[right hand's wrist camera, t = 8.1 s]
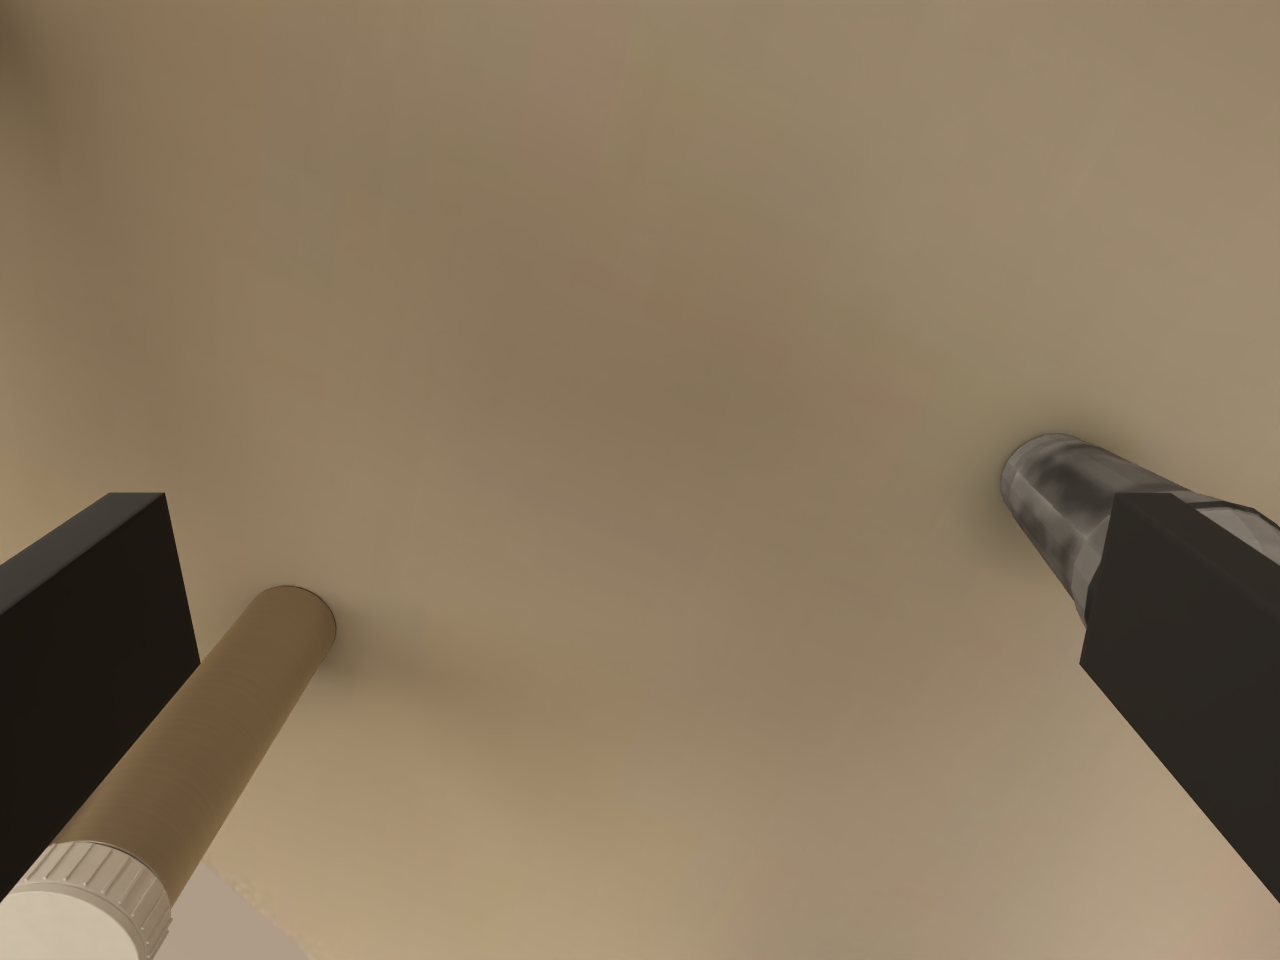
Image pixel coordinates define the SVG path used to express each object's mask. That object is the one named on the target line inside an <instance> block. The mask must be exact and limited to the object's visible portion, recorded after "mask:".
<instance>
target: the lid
mask: <svg viewBox="0 0 1280 960" xmlns="http://www.w3.org/2000/svg"><path fill="white" fill-rule="evenodd" d="M171 908H172V905H170V901H169V898H168V895H167V891H165V889H164V887H163V885H162V884H161V882H160V881H159V879H158V878H157V877H156V876H155V875H154V874H153V873H152V872H151V871H150V870H149V869H148V868H147V867H146V866H145V865H143V864H142V863H141V862H139V861H138V860H136V859H135V858H133V857H131V856H129V855H128V854H126V853H123V852H121V851H119V850H117V849H114V848H111V847H108V846H104V845H100V844H95V843H88V842H66V843H60V844H56V843H55V844H52V846H49V847H47V848H46V849H45V851H44V852H43V853H42V854H41V855H40V856H39V858H38V859H37V860H36V861H35V862H34V864H33V865H32V866H31V867H30V868H29V870H28V871H27V872H26V873H25V874H24V876H23V877H22V878H21V879H20V880H19V882H18V883H17V884H16V885H15V886H14V888H13V889H12V890H11V891H10V892H9V894H8V895H7V896H6V897H5V898H4V899H3V901H2V902H1V903H0V960H153V958H154V956H155V954H156V953H157V951H158V949H159V948H160V946H161V944H162V943H163V941H164V939H165V938H166V936H167V934H168V933H169V931H168V930H167V929H168V927H169V925H170V923H171V922H172V918H170V917H171Z"/></svg>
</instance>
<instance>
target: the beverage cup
mask: <svg viewBox="0 0 1280 960" xmlns="http://www.w3.org/2000/svg"><path fill="white" fill-rule="evenodd" d="M1001 492H1002V496H1003V499H1004V502H1005V503H1006V505H1007V506H1008V507H1009V509H1010V510H1011V512H1012V514H1013V517H1014V519H1015V520H1016V521H1017V523H1018V524H1019V525H1020V527H1021V528H1022V530H1023V531H1024V532H1025V534H1026V535H1027V536H1028V538H1029V539H1030V541H1031V542H1032V543H1033V545H1034V546H1035V548H1036V549H1037V550H1038V552H1039V553H1040V554H1041V556H1042V557H1043V559H1044V560H1045V561H1046V563H1047V564H1048V566H1049V567H1050V568H1051V570H1052V571H1053V572H1054V574H1055V575H1056V577H1057V578H1058V579H1059V581H1060V582H1061V583H1062V585H1063V586H1064V588H1065V589H1066V590H1067V592H1068V593H1069V595H1070V596H1071V597H1072V599H1073V600H1074V601H1075V605H1076V609H1077V611H1078V614H1079V616H1080V618H1081V620H1082V622H1083V624H1084V626H1085V628H1086V629H1087V625H1088V620H1089V615H1090V610H1091V605H1092V601H1093V596H1094V591H1095V586H1096V582H1097V577H1098V572H1099V567H1100V563H1101V558H1102V553H1103V548H1104V544H1105V539H1106V534H1107V529H1108V525H1109V520H1110V515H1111V510H1112V505H1113V501H1114V496H1115V493H1172V494H1173V495H1175V496H1176V497H1178V498H1179V499H1181V500H1182V501H1184V502H1185V503H1187V504H1188V505H1190V506H1191V507H1193V508H1194V509H1196V510H1197V511H1199V512H1200V513H1202V514H1203V515H1205V516H1206V517H1208V518H1209V519H1211V520H1212V521H1214V522H1215V523H1217V524H1218V525H1220V526H1221V527H1223V528H1224V529H1226V530H1227V531H1229V532H1230V533H1232V534H1233V535H1235V536H1236V537H1238V538H1239V539H1241V540H1242V541H1244V542H1245V543H1247V544H1248V545H1250V546H1251V547H1253V548H1254V549H1256V550H1257V551H1259V552H1260V553H1262V554H1263V555H1265V556H1266V557H1268V558H1269V559H1271V560H1272V561H1274V562H1275V563H1277V564H1278V565H1280V527H1279V526H1278V525H1277V524H1276V523H1274V522H1273V521H1271V520H1270V519H1268V518H1267V517H1265V516H1264V515H1263V514H1261V513H1260V512H1258V511H1257V510H1255V509H1254V508H1251V507H1246V506H1242V505H1238V504H1234V503H1230V502H1227V501H1224V500H1220V499H1217V498H1214V497H1210V496H1206V495H1202V494H1198V493H1195V492H1193V491H1191V490H1189V489H1186V488H1184V487H1182V486H1180V485H1178V484H1176V483H1174V482H1172V481H1170V480H1168V479H1165V478H1163V477H1161V476H1159V475H1157V474H1155V473H1153V472H1151V471H1149V470H1147V469H1144V468H1142V467H1140V466H1138V465H1136V464H1134V463H1132V462H1130V461H1128V460H1126V459H1123V458H1121V457H1119V456H1117V455H1115V454H1113V453H1111V452H1109V451H1107V450H1105V449H1102V448H1100V447H1098V446H1096V445H1094V444H1090V443H1086V442H1084V441H1080V440H1078V439H1077V438H1076V437H1072V436H1068V435H1064V434H1049V435H1043V436H1041V437H1038V438H1035V439H1032V440H1030V441H1029V442H1027V443H1026V444H1024V445H1023V446H1021V447H1020V448H1019V449H1017V451H1016V452H1015V453H1014V454H1013V455H1012V457H1011V458H1010V459H1009V460H1008V461H1007V464H1006V466H1005V469H1004V471H1003V473H1002V478H1001Z"/></svg>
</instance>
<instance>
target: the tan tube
mask: <svg viewBox="0 0 1280 960" xmlns="http://www.w3.org/2000/svg"><path fill="white" fill-rule="evenodd" d="M335 633H336V626H335V621H334V618H333V615H332V613H331V611H330V610H329V608H328V607H327V605H326V604H325V603H324V602H323V601H322V600H321V599H320V598H318V597H317V596H316V595H314V594H312V593H311V592H309V591H306V590H304V589H301V588H297V587H290V586H282V587H275V588H272V589H268V590H266V591H264V592H263V593H261V594H260V595H259V596H257V597H256V598H255V600H254V601H253V602H252V603H251V604H250V605H249V607H248V608H247V609H246V610H245V611H244V613H243V614H242V615H241V616H240V617H239V619H238V620H237V621H236V622H235V623H234V625H233V626H232V627H231V628H230V629H229V631H228V632H227V633H226V634H225V635H224V637H223V638H222V639H221V640H220V641H219V643H218V644H217V645H216V646H215V647H214V648H213V650H212V651H211V652H210V653H209V654H208V656H207V657H206V658H205V659H204V660H203V662H202V663H201V664H200V665H199V667H198V668H197V669H196V670H195V671H194V673H193V674H192V675H191V676H190V677H189V678H188V680H187V681H186V682H185V683H184V684H183V686H182V687H181V688H180V689H179V690H178V692H177V693H176V694H175V695H174V696H173V698H172V699H171V700H170V701H169V702H168V704H167V705H166V706H165V707H164V708H163V710H162V711H161V712H160V713H159V714H158V716H157V717H156V718H155V719H154V720H153V721H152V723H151V724H150V725H149V726H148V727H147V729H146V730H145V731H144V732H143V733H142V735H141V736H140V737H139V738H138V739H137V741H136V742H135V743H134V744H133V745H132V747H131V748H130V749H129V750H128V751H127V753H126V754H125V755H124V756H123V757H122V759H121V760H120V761H119V762H118V763H117V764H116V766H115V767H114V768H113V769H112V770H111V772H110V773H109V774H108V775H107V776H106V778H105V779H104V780H103V781H102V782H101V784H100V785H99V786H98V787H97V788H96V790H95V791H94V792H93V793H92V794H91V796H90V797H89V798H88V799H87V800H86V802H85V803H84V804H83V805H82V806H81V807H80V809H79V810H78V811H77V812H76V813H75V815H74V816H73V817H72V818H71V819H70V821H69V822H68V823H67V824H66V825H65V827H64V828H63V829H62V830H61V831H60V833H59V834H58V835H57V836H56V837H55V839H54V840H53V841H52V842H51V843H50V845H49V846H52V844H55V843H56V844H60V843H66V842H88V843H95V844H100V845H104V846H108V847H111V848H114V849H117V850H119V851H121V852H123V853H126V854H128V855H129V856H131V857H133V858H135V859H136V860H138V861H139V862H141V863H142V864H143V865H145V866H146V867H147V868H148V869H149V870H150V871H151V872H152V873H153V874H154V875H155V876H156V877H157V878H158V879H159V881H160V882H161V884H162V885H163V887H164V889H165V891H167V895H168V898H169V901H170V905H172V907H173V905H174V903H175V902H176V900H177V898H178V897H179V895H180V893H181V892H182V890H183V888H184V887H185V885H186V884H187V882H188V880H189V879H190V877H191V875H192V874H193V872H194V870H195V869H196V867H197V866H198V864H199V862H200V861H201V859H202V857H203V856H204V854H205V852H206V851H207V849H208V847H209V846H210V844H211V843H212V841H213V839H214V838H215V836H216V834H217V833H218V831H219V829H220V828H221V826H222V824H223V823H224V821H225V820H226V818H227V816H228V815H229V813H230V811H231V810H232V808H233V806H234V805H235V803H236V801H237V800H238V798H239V797H240V795H241V793H242V792H243V790H244V788H245V787H246V785H247V783H248V782H249V780H250V779H251V777H252V775H253V774H254V772H255V770H256V769H257V767H258V765H259V764H260V762H261V760H262V759H263V757H264V756H265V754H266V752H267V751H268V749H269V747H270V746H271V744H272V742H273V741H274V739H275V737H276V736H277V734H278V733H279V731H280V729H281V728H282V726H283V724H284V723H285V721H286V719H287V718H288V716H289V714H290V713H291V711H292V710H293V708H294V706H295V705H296V703H297V701H298V700H299V698H300V696H301V695H302V693H303V692H304V690H305V688H306V687H307V685H308V683H309V682H310V680H311V678H312V677H313V675H314V673H315V672H316V670H317V669H318V667H319V665H320V664H321V662H322V660H323V659H324V657H325V655H326V654H327V652H328V650H329V649H330V647H331V646H332V644H333V641H334V639H335ZM49 846H48V847H49Z"/></svg>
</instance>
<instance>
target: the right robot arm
mask: <svg viewBox="0 0 1280 960" xmlns="http://www.w3.org/2000/svg"><path fill="white" fill-rule="evenodd" d="M200 664H201V663H200V658H199V653H198V648H197V644H196V639H195V634H194V629H193V625H192V620H191V615H190V610H189V605H188V601H187V596H186V591H185V586H184V582H183V577H182V572H181V567H180V563H179V558H178V553H177V548H176V544H175V539H174V534H173V529H172V525H171V520H170V515H169V510H168V506H167V501H166V496H165V493H108V494H107V495H105V496H104V497H102V498H101V499H99V500H98V501H96V502H95V503H93V504H92V505H90V506H89V507H87V508H86V509H84V510H83V511H81V512H80V513H78V514H77V515H75V516H74V517H72V518H71V519H69V520H68V521H66V522H65V523H63V524H62V525H60V526H59V527H57V528H56V529H54V530H53V531H51V532H50V533H48V534H47V535H45V536H44V537H42V538H41V539H39V540H38V541H36V542H35V543H33V544H32V545H30V546H29V547H27V548H26V549H24V550H23V551H21V552H20V553H18V554H17V555H15V556H14V557H12V558H11V559H9V560H8V561H6V562H5V563H3V564H2V565H0V903H1V902H2V901H3V899H4V898H5V897H6V896H7V895H8V894H9V892H10V891H11V890H12V889H13V888H14V886H15V885H16V884H17V883H18V882H19V880H20V879H21V878H22V877H23V876H24V874H25V873H26V872H27V871H28V870H29V868H30V867H31V866H32V865H33V864H34V862H35V861H36V860H37V859H38V858H39V856H40V855H41V854H42V853H43V852H44V851H45V849H46V848H47V847H48V846H49V845H50V843H51V842H52V841H53V840H54V839H55V837H56V836H57V835H58V834H59V833H60V831H61V830H62V829H63V828H64V827H65V825H66V824H67V823H68V822H69V821H70V819H71V818H72V817H73V816H74V815H75V813H76V812H77V811H78V810H79V809H80V807H81V806H82V805H83V804H84V803H85V802H86V800H87V799H88V798H89V797H90V796H91V794H92V793H93V792H94V791H95V790H96V788H97V787H98V786H99V785H100V784H101V782H102V781H103V780H104V779H105V778H106V776H107V775H108V774H109V773H110V772H111V770H112V769H113V768H114V767H115V766H116V764H117V763H118V762H119V761H120V760H121V759H122V757H123V756H124V755H125V754H126V753H127V751H128V750H129V749H130V748H131V747H132V745H133V744H134V743H135V742H136V741H137V739H138V738H139V737H140V736H141V735H142V733H143V732H144V731H145V730H146V729H147V727H148V726H149V725H150V724H151V723H152V721H153V720H154V719H155V718H156V717H157V716H158V714H159V713H160V712H161V711H162V710H163V708H164V707H165V706H166V705H167V704H168V702H169V701H170V700H171V699H172V698H173V696H174V695H175V694H176V693H177V692H178V690H179V689H180V688H181V687H182V686H183V684H184V683H185V682H186V681H187V680H188V678H189V677H190V676H191V675H192V674H193V673H194V671H195V670H196V669H197V668H198V667H199V665H200ZM1079 664H1080V665H1081V667H1082V668H1083V669H1084V670H1085V671H1086V673H1087V674H1088V675H1089V676H1090V677H1091V678H1092V680H1093V681H1094V682H1095V683H1096V684H1097V686H1098V687H1099V688H1100V689H1101V690H1102V692H1103V693H1104V694H1105V695H1106V696H1107V698H1108V699H1109V700H1110V701H1111V702H1112V704H1113V705H1114V706H1115V707H1116V708H1117V710H1118V711H1119V712H1120V713H1121V714H1122V716H1123V717H1124V718H1125V719H1126V720H1127V721H1128V723H1129V724H1130V725H1131V726H1132V727H1133V729H1134V730H1135V731H1136V732H1137V733H1138V735H1139V736H1140V737H1141V738H1142V739H1143V741H1144V742H1145V743H1146V744H1147V745H1148V747H1149V748H1150V749H1151V750H1152V751H1153V753H1154V754H1155V755H1156V756H1157V757H1158V759H1159V760H1160V761H1161V762H1162V763H1163V764H1164V766H1165V767H1166V768H1167V769H1168V770H1169V772H1170V773H1171V774H1172V775H1173V776H1174V778H1175V779H1176V780H1177V781H1178V782H1179V784H1180V785H1181V786H1182V787H1183V788H1184V790H1185V791H1186V792H1187V793H1188V794H1189V796H1190V797H1191V798H1192V799H1193V800H1194V802H1195V803H1196V804H1197V805H1198V806H1199V807H1200V809H1201V810H1202V811H1203V812H1204V813H1205V815H1206V816H1207V817H1208V818H1209V819H1210V821H1211V822H1212V823H1213V824H1214V825H1215V827H1216V828H1217V829H1218V830H1219V831H1220V833H1221V834H1222V835H1223V836H1224V837H1225V839H1226V840H1227V841H1228V842H1229V843H1230V845H1231V846H1232V847H1233V848H1234V849H1235V851H1236V852H1237V853H1238V854H1239V855H1240V856H1241V858H1242V859H1243V860H1244V861H1245V862H1246V864H1247V865H1248V866H1249V867H1250V868H1251V870H1252V871H1253V872H1254V873H1255V874H1256V876H1257V877H1258V878H1259V879H1260V880H1261V882H1262V883H1263V884H1264V885H1265V886H1266V888H1267V889H1268V890H1269V891H1270V892H1271V894H1272V895H1273V896H1274V897H1275V898H1276V899H1277V901H1278V902H1279V903H1280V565H1278V564H1277V563H1275V562H1274V561H1272V560H1271V559H1269V558H1268V557H1266V556H1265V555H1263V554H1262V553H1260V552H1259V551H1257V550H1256V549H1254V548H1253V547H1251V546H1250V545H1248V544H1247V543H1245V542H1244V541H1242V540H1241V539H1239V538H1238V537H1236V536H1235V535H1233V534H1232V533H1230V532H1229V531H1227V530H1226V529H1224V528H1223V527H1221V526H1220V525H1218V524H1217V523H1215V522H1214V521H1212V520H1211V519H1209V518H1208V517H1206V516H1205V515H1203V514H1202V513H1200V512H1199V511H1197V510H1196V509H1194V508H1193V507H1191V506H1190V505H1188V504H1187V503H1185V502H1184V501H1182V500H1181V499H1179V498H1178V497H1176V496H1175V495H1173V494H1172V493H1115V496H1114V501H1113V505H1112V510H1111V515H1110V520H1109V525H1108V529H1107V534H1106V539H1105V544H1104V548H1103V553H1102V558H1101V563H1100V567H1099V572H1098V577H1097V582H1096V586H1095V591H1094V596H1093V601H1092V605H1091V610H1090V615H1089V620H1088V625H1087V629H1086V634H1085V639H1084V644H1083V648H1082V653H1081V658H1080V663H1079Z"/></svg>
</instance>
